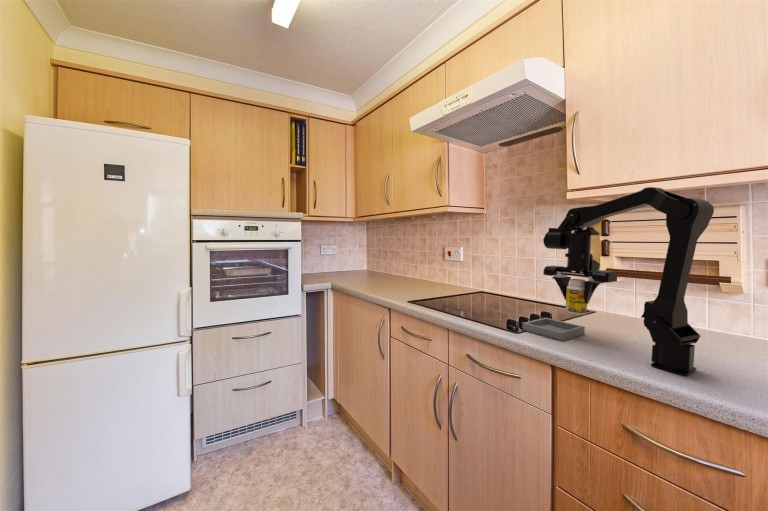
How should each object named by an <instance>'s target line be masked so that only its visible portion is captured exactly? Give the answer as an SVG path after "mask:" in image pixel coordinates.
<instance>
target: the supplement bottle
mask: <svg viewBox="0 0 768 511" xmlns="http://www.w3.org/2000/svg"><path fill="white" fill-rule="evenodd" d="M585 281H586V280H585V279H581V278H571V279H570V281H569V285H568V286H567V291H566V300H565V312H566V313H568V314H571V315H575V316H576V315H577V316H584V315H586V314H587V312H588V304H585V299H584V288H585V287H584V282H585Z"/></svg>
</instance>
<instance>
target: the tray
mask: <svg viewBox="0 0 768 511" xmlns="http://www.w3.org/2000/svg"><path fill="white" fill-rule="evenodd" d="M521 326H522V327H521V328H523V329H525V330H526V331H527V332H526V331H525V332H526V333H531V334H533V333H534V335H537V336H540V335H541V337H545V338H548V339H552V340H555V341H557V342H558V341H559V342H564V341H567V340H570V339H571V340H572V339H573V338H577V337H580V336H584V335H585V333H586V332H585V331H586V330H585V329H586V326H584V325H579V324H575V323H571V322H566V321H561V320H558V319H557V320H556V319H553V318H550V317H549V318H548V317H542V318H537V319H534V320H530V321H529V320H528V321H526V322H522V325H521Z"/></svg>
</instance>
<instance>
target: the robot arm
mask: <svg viewBox="0 0 768 511" xmlns="http://www.w3.org/2000/svg"><path fill="white" fill-rule="evenodd" d="M648 206H650V207H651V208H653V209H655V210H656V211H658V212H660V213H662V214H664V215H665V226H666V229H667V232H668V235H669V240H668V245H667V251H666V255H665V259H664V260H665V261H664V264H663V265H664V266H663V270H662V275H661V279H660V283H659V289H658V293H657V296H656V298H655V299H654V300H648V301H645V302H644V304H643V306H644V307H643V308H644V309H643V313H642V315H641V316H640V318H641V319H642V318H643V325H644V327H645V328H646V329H647V331H648V332H649V334H650V338H651V340H652V343H654V344H653V345H652V346H651V348H652V349H651V362H652V363H650V366H651V367H653V368H656V369H661V370H662V371H663V370H664V371H667V372H672V373H674V374H678V375H681V376H686V377H688V376H689V375H690V374H692V373H693V372H695V371H697V367H695V366H694V365H695V364H694V363H695V349H696V346H695V344H697V343H698V341H699V340H700V338H701V335H700V334H699V333H698V332H697V331H696V329H694V327H693V326H692V325H690V324H689V321H688V319H689V318H688V316H689V315H688V308H687V305H686V303H685V295H686V291H687V287H688V282H689V278H690V274H691V270H692V264H693V261H694V258H695V257H694V256H695V251H696V248H697V244H698V243H697V242H698V240H699V238H700V237H701V236H702V234H703V233H704V232H705V230H706V229H707V228H708V226H709V224H710V221H711V220H712V217H713V215H714V213H715V208H714V206H713V205H712V203H711V202H709V201H708V200H705V199H703V198H702V199H700V198H691V197H685V196H683V195H679V194H676V193H673V192H670V191H668V190H665V189H663V188H662V187H654V186H646V187H644V188H642V189H640V190H637V191H635V192H634V191H633V192H632V193H629V194H626V195H622V196H620V197H617V198H614V199H611V200H607V201H606V202H602V203H599V204H595V205H594V204H592V205H585V206H577V207H573V208H572V207H571V208H570V209H569V210H567V213H566V215H565V217H564V219H563V220H562V221H561V223H560V224H559V225H558V227H548V231H547V232H546V233H545V235H544V237H543V241H542V242H543V245H544V247H545V248H546V249H549V250H551V249H552V250H567V253H565V254H564V257H565V258H566V257H567V261H566V262H567V266H562V265H547V266H545V267H544V268H543V271H542V272H543V275H544V276H551V279H553V280H554V281H555V282H556V284H557V286H558V288H559V290H560V292H561V294H562V296H563V298H564V300H565V301H566V291H567V286H568V285H570V279H572V276H573V277H581V278H588V280H585V282H584V287H585V288H584V299H585V304H587V305H588V304H589V303H590V301H591V298H592V297H593V295H594V293H595V290H596V289H597V287H599V285H601V284H604V283H605V284H606V283H614V282H618V274H617V273H616V271H615V270H606V269H605V270H604V269H600V265H601V263H599V262H598V261H597V260H595V259H594V258H593V257H594V256H593V253H591V245H592V244H591V243H592V241H591V240H592V236H599V235H600V232H599V231H597V230H596V229H595V228H594V227H593V226H594V225H597V224H600V223H601V222H602V221H603V220H605V219H607V218H610V217H614V216H618V215H620V214H623V213H627V212H631V211H634V210H638V209H640V208H644V207H648Z"/></svg>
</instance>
